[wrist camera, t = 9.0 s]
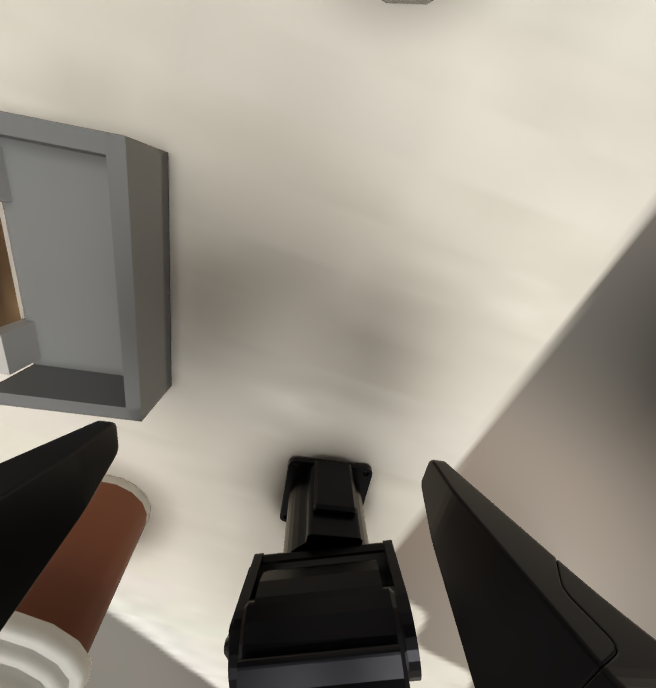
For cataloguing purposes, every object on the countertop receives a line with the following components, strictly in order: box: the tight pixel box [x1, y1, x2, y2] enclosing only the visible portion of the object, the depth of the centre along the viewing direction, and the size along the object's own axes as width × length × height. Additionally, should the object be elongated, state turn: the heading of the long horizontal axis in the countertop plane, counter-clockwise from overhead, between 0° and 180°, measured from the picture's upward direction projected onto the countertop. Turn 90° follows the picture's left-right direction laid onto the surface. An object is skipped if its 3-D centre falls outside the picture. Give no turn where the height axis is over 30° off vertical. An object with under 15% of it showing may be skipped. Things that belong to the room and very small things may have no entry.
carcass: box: [0, 111, 171, 421], centre depth 17 cm, size 14×12×4 cm
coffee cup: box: [0, 475, 151, 688], centre depth 20 cm, size 9×9×12 cm
